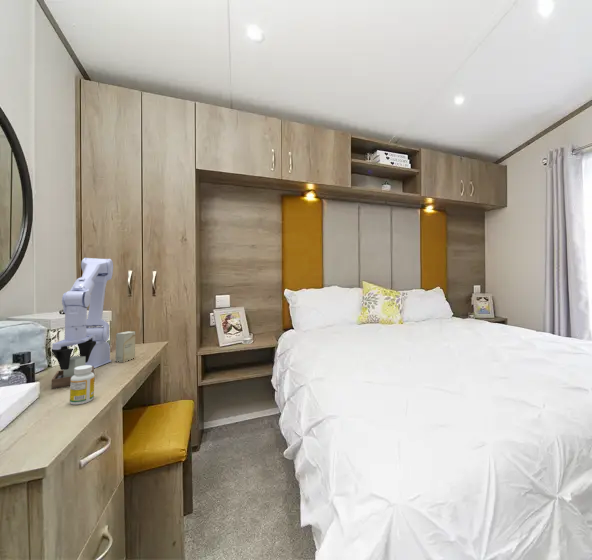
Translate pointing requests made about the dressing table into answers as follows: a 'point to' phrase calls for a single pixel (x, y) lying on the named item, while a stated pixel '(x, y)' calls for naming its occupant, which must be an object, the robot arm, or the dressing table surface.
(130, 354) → the skincare box
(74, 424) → the dressing table surface
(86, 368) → the supplement bottle
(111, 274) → the robot arm
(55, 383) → the bore box
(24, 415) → the dressing table surface
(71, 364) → the sage peg
